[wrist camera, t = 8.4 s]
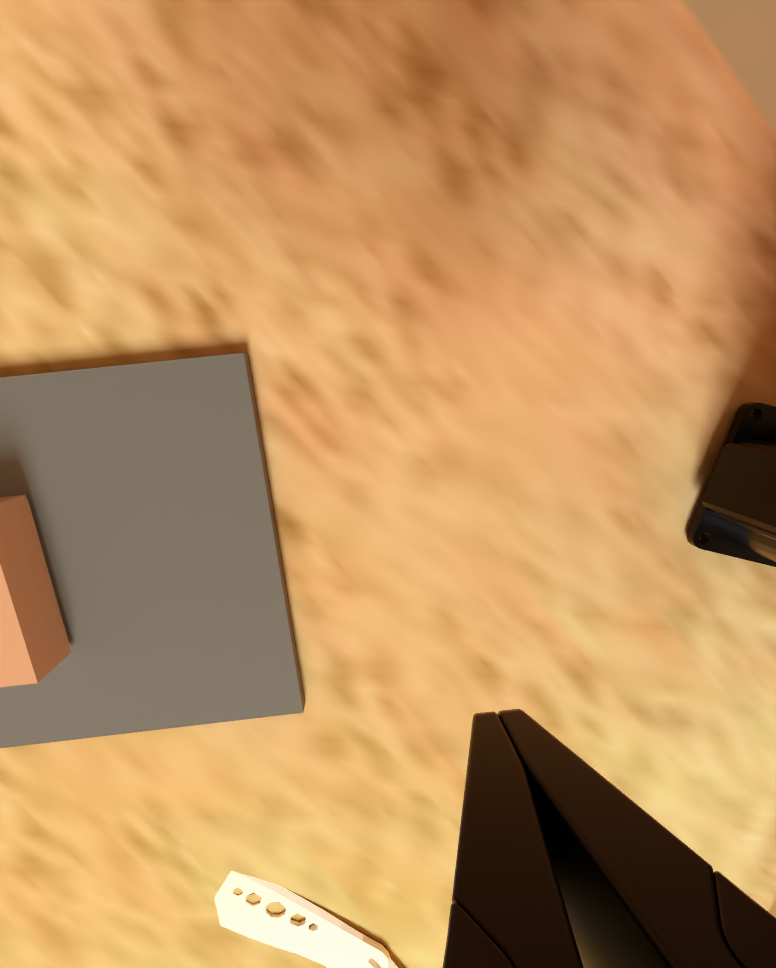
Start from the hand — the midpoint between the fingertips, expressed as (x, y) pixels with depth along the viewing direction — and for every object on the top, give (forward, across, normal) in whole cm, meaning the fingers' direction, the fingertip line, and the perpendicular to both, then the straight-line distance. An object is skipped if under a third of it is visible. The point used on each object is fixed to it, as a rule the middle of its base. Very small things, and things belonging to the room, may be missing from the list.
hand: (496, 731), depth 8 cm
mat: (+12, +15, 0) cm, 19 cm away
